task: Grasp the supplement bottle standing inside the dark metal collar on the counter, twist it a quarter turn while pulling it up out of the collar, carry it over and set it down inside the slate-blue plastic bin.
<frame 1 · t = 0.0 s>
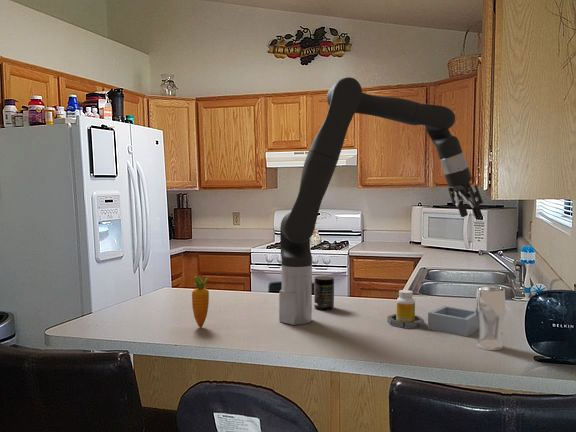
hand: (471, 217, 150), 31 cm above the counter, tool tilted 20°, fingers open, 8 cm apart
bin: (454, 328, 136), on the counter
beer glass: (489, 347, 120), on the counter
collar: (405, 323, 141), on the counter
supplement bottle: (405, 323, 141), resting in collar
supplement container: (324, 308, 158), on the counter
carrot: (200, 328, 136), on the counter
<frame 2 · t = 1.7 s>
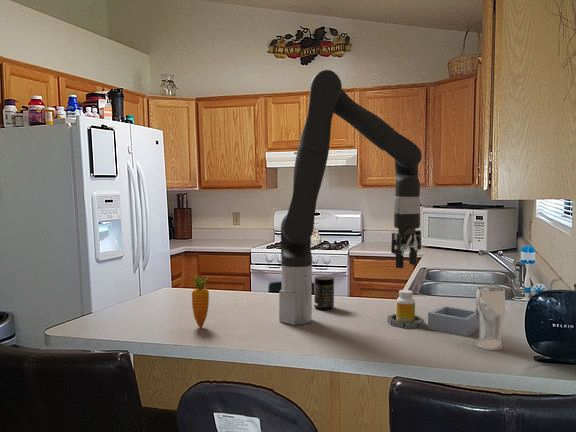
hand: (406, 266, 140), 17 cm above the counter, tool pointing down, fingers open, 8 cm apart
nothing on the counter moved.
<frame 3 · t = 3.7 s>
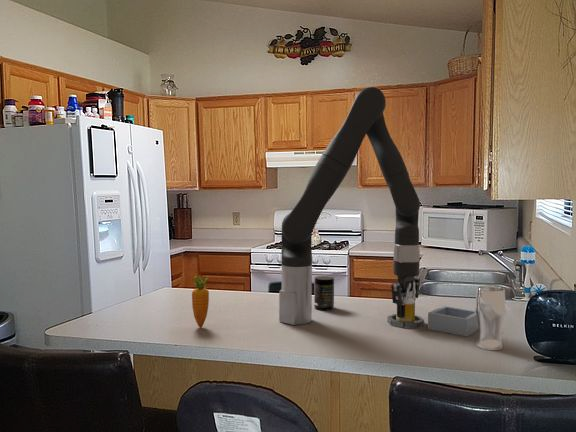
hand: (405, 314, 141), 2 cm above the counter, tool pointing down, fingers closed on supplement bottle, 5 cm apart
supplement bottle: (405, 323, 141), resting in collar, touching gripper
everything else where it was.
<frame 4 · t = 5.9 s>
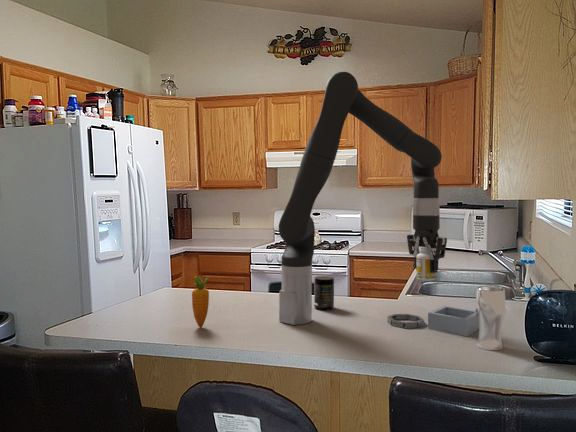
hand: (426, 270, 138), 16 cm above the counter, tool pointing down, fingers closed on supplement bottle, 5 cm apart
supplement bottle: (425, 280, 138), point 13 cm above the counter, touching gripper
everything else where it was.
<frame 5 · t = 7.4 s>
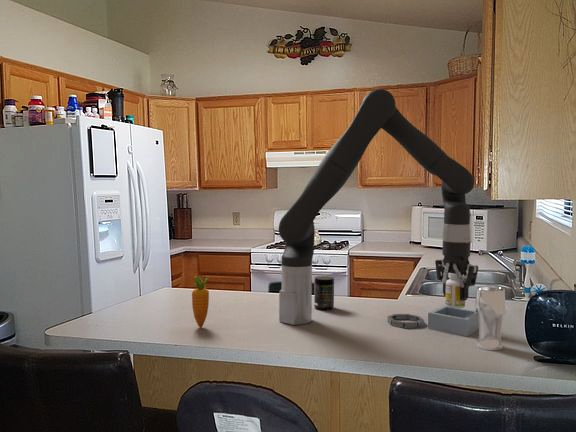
hand: (455, 297, 135), 9 cm above the counter, tool pointing down, fingers closed on supplement bottle, 5 cm apart
supplement bottle: (455, 307, 136), point 6 cm above the counter, touching gripper
everything else where it was.
when the fingers open (5 cm above the counter, at t = 8.5 s): supplement bottle drops 2 cm, resting on bin.
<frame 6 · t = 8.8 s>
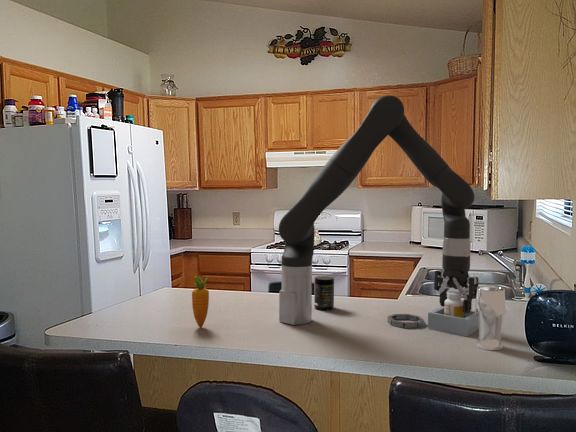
hand: (454, 309, 136), 6 cm above the counter, tool pointing down, fingers open, 8 cm apart
supplement bottle: (453, 326, 136), resting on bin
everything else where it was.
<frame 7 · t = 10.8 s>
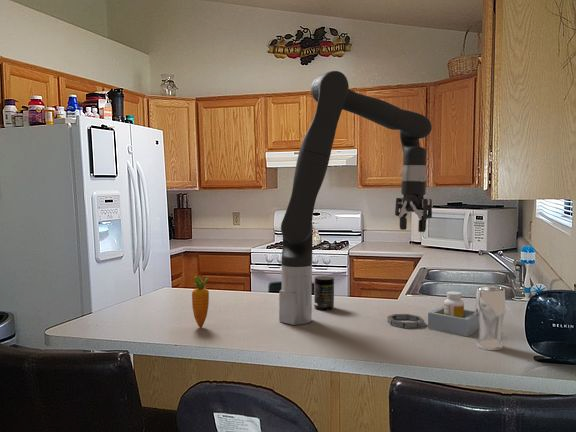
hand: (412, 230, 150), 27 cm above the counter, tool pointing down, fingers open, 8 cm apart
nothing on the counter moved.
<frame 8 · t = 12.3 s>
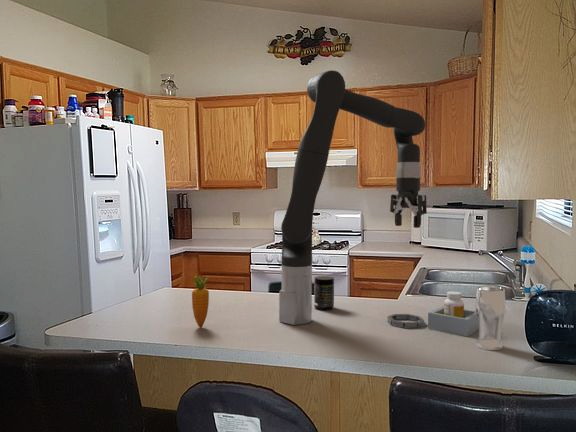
hand: (407, 226, 152), 28 cm above the counter, tool pointing down, fingers open, 8 cm apart
nothing on the counter moved.
at the end: supplement bottle inside the target area on the bin (0.2 cm from its centre), point 0.4 cm above the bin's base; supplement bottle tilted 0°; the gripper is holding nothing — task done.
